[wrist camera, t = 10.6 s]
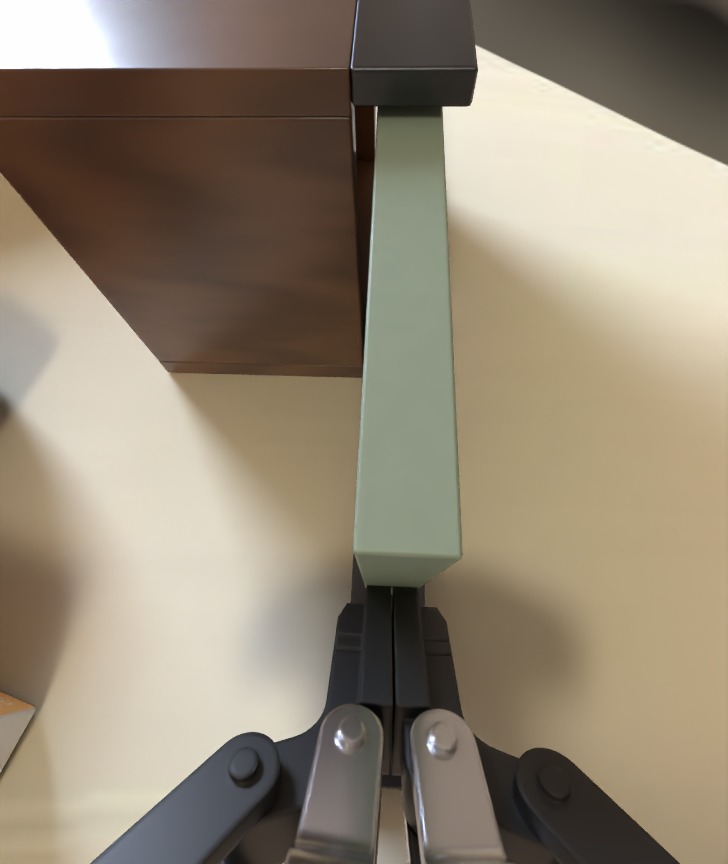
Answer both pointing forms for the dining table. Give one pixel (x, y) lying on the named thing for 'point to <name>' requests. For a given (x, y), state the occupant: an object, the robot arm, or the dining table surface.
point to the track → (410, 95)
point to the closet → (201, 171)
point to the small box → (12, 724)
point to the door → (408, 363)
